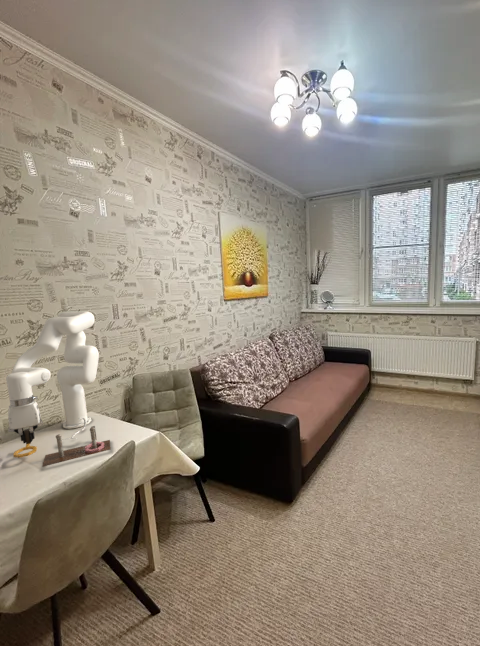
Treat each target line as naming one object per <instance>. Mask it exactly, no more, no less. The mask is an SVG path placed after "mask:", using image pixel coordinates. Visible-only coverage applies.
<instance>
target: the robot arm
mask: <svg viewBox="0 0 480 646" xmlns="http://www.w3.org/2000/svg"><path fill="white" fill-rule="evenodd" d="M95 319H96V318H95V315H94V314H93V313H92V312H91V311H87V310H84V311H83V310H81V311H79V310H78V311H77V310H70V311H69V310H68V311H62V312H60V313H59V314H58V315H57V316H52V317H49V318H48V319H47V320H45V322H44V324H43V326H42V329H41V331H40V333H39V335H38V337H37V340H36V342H35V344H33V346H31V347H29V348H28V349H27V350H26V351H24V353H22V354H21V355H20V356H19V357H18V358H17V360H16V361H15V364H14V366H13V368H12V371H11V373H9V374H7V375H6V377H5V381H6V386H7V393H8V399H9V405H8V412H7V413H8V414H7V415H8V416H7V418H8V429H7V432H9V433H15V434H18V435H19V437H20V441H21V442H22V443H23V444H26V439H25V433H24V430H25V429H24V428H28V427H29V428H28V429H29V440H30V442H31V443H33V441H34V439H35V431H36V430H37V428H40V427H42V426H44V421H43V420H42V416H41V412H40V407H39V404H38V402H37V401H36V400H38V396H37V395H36V396H35V395H34V393H33V387H35V386H41V385H43V384H46V383H47V382H49V380H51V376H52V373H51V370H49V369H47V368H46V367H32V366H33V364H34V363H35V362H37V361H38V360H39V359H42V358H43V357H46V356H48V355H50V354H51V355H52V354H53V353H55V352H57V351H58V349H59V346H60V344H61V341H62V340H63V336H64V335H65V337H66V339H65V345H64V346H65V347H64V352H63V359H64V361H65V363H68V364H82V365H66V366H65V365H64V366H62V367H60V368H59V369H58V371H57V373H56V380H57V382H58V385H59V388H60V392H61V397H62V403H63V410H64V417H65V421H64V422H63V423H62V428H63V429H67V430H68V429H69V430H72V429H78V428H83V427H84V420H83V419H80V418H81V417H84V418H85V419H86V426H87V425H88V424H90V423H91V422H92V417H90V416H88V411H87V402H86V395H85V389H84V387H83V385H91V384H93V383H94V382H95V381H96V378H97V375H98V374H97V373H98V366H99V359H100V353H99V349H98V348H97V347H96V346H94V345H89V344H88V345H86V341H87V335H86V333H85V332H84V331H86V330H87V329H90V328H91V327H92V326H94V324H95ZM79 419H80V420H79Z"/></svg>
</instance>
